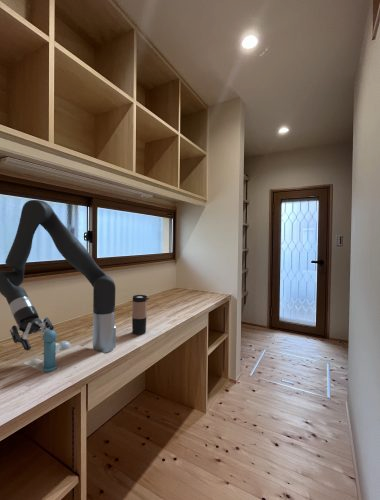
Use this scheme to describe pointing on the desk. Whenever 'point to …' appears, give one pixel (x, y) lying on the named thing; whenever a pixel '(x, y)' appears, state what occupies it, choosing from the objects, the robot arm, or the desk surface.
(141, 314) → the travel mug
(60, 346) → the die tray
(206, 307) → the desk surface
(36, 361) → the track board
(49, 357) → the pawn
